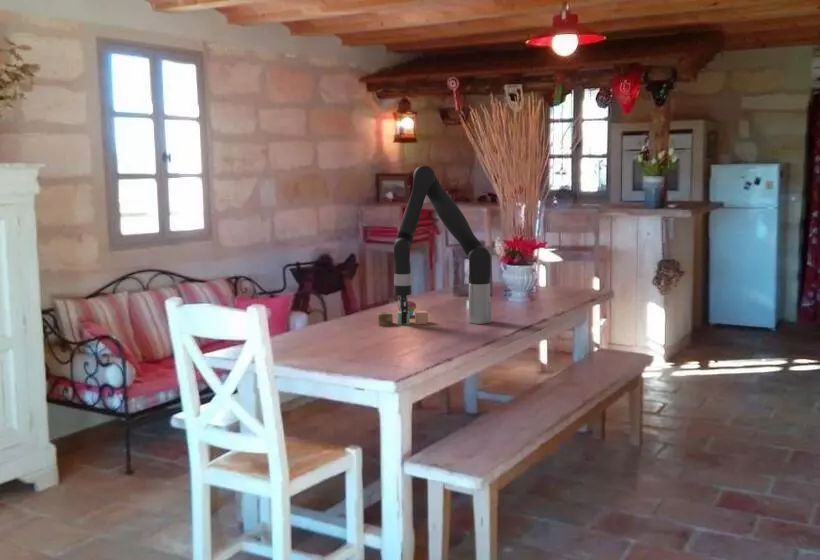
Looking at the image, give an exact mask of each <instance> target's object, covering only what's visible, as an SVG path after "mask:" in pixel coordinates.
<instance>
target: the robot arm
mask: <svg viewBox="0 0 820 560" xmlns="http://www.w3.org/2000/svg"><path fill="white" fill-rule="evenodd" d="M412 175H413V176H412V177H413V183H412V189H411V194H410V197H409V200H408V201H407V205H406V207H405V210H404V213H403V215H402V218H401V222H400V224H399V231H398V233H397V235H396V239H395V241H394V243H393V258H394V266H393V267H394V274H393V275H394V276H393V283H394V284H393V294H394V295H395V296H397V297H398V299H397V302H398V304H399V308H398V311H401V319H402V324H404V325H407V324H406V323H407V314H408V301H409V299H408V298H407V296H411V295H412V274H411V273H412V271H411V270H412V269H411V261H410V258H411V246H412V242H413V239H414V234H415V232H416V230H417V226H418V223H419V221H420V217H421V213H422V210H423V206H424V202H425V200H426V198H427V197H428V199H429V201H430V202H431V204H432V206H433V208H434V210H435V213H436V214H437V216H438V217H439V219H440V221H441V222H442V223H443V225H444V226H445V228H446V229H447V231H448V232H449V233H450V234H451V236H453V238H455V240H456V241H457V242H458V243H459V245H460V246H461V247H462V249H463V252H464V253H465V256H466V257H467V260H468V323H470V324H475V325H477V324H478V325H479V324H480V325H481V324H482V325H483V324H491V323H492V301H491V275H492V274H491V271H492V270H491V268H492V267H491V265H492V263H491V261H492V259H491V253H490V251H489V250H488V249H487V248H486V247H485V246H484V245H483V244H482V243H481V241H480V240H479V239H478V238H477V237H476V235H475V234H474V232H473V231H472V229H471V226H470V224H469V222H468V220H467V218H466V217H465V215H464V213H463V212H462V210H461V209H460V208H459V206H458V205H457V203H456V202H455V201H454V199H452V198H451V197H450V194H448V193H447V192H446V191H445V189H444V188H443V187H442V185H441V184H440V181H439V180H438V178H437V176H436V173H435V171H434V169H433V168H432V167H431V166H430V165H425V164H422V165H420V166H417V167H416V168H415V170H414V172H413V174H412ZM426 196H427V197H426ZM403 311H406V312H403Z"/></svg>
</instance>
